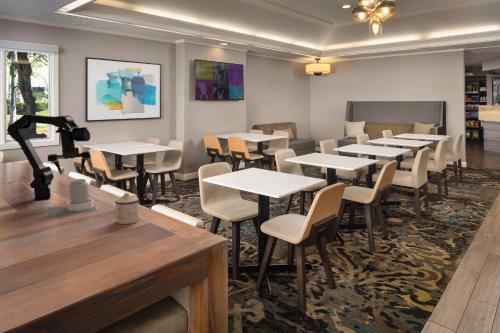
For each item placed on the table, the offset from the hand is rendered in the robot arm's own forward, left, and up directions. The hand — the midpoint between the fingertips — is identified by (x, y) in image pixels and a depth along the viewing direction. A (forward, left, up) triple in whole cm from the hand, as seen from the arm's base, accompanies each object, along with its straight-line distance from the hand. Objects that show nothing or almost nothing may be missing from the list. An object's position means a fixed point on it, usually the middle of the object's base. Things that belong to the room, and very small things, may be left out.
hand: (71, 173), depth 184 cm
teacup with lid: (+18, -47, -13) cm, 53 cm away
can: (+2, -19, -12) cm, 22 cm away
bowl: (+2, -19, -13) cm, 23 cm away
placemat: (-1, -20, -13) cm, 24 cm away
